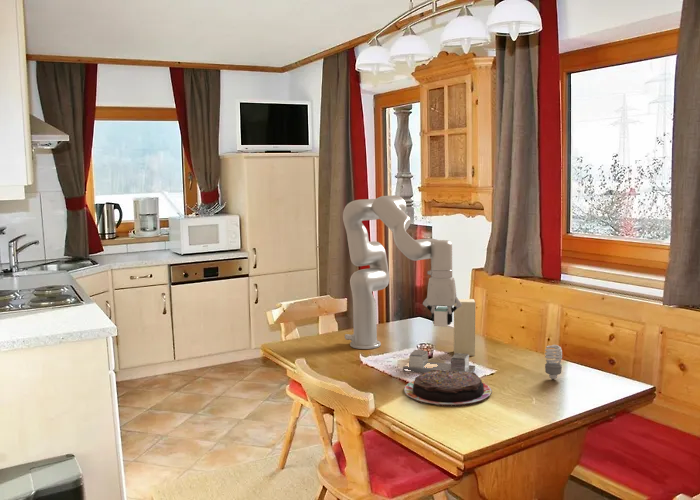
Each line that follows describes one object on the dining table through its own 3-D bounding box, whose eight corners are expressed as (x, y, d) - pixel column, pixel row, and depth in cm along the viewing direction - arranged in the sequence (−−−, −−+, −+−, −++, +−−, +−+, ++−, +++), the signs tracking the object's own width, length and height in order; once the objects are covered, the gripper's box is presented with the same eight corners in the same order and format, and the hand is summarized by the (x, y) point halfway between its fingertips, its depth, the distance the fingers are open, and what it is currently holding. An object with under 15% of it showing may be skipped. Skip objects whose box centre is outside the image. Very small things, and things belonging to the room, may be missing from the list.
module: (434, 326, 240) (434, 310, 240) (438, 322, 246) (437, 306, 246) (446, 326, 239) (446, 310, 238) (450, 322, 245) (449, 307, 244)
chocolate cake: (401, 380, 228) (401, 361, 227) (483, 379, 227) (483, 360, 226) (406, 409, 200) (406, 388, 200) (499, 408, 199) (499, 387, 199)
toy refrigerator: (473, 350, 262) (473, 298, 259) (475, 355, 255) (475, 302, 252) (453, 350, 263) (453, 298, 260) (454, 355, 255) (454, 302, 253)
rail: (403, 371, 237) (403, 354, 236) (410, 364, 245) (410, 348, 245) (470, 377, 228) (470, 360, 228) (475, 369, 237) (475, 353, 236)
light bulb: (562, 377, 226) (562, 343, 224) (561, 382, 220) (562, 347, 219) (544, 376, 227) (545, 342, 226) (544, 381, 222) (544, 346, 221)
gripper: (416, 275, 240) (417, 324, 242) (463, 276, 234) (463, 327, 236) (421, 272, 247) (422, 320, 249) (466, 273, 241) (467, 322, 243)
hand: (442, 323), depth 243 cm, fingers closed on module, 4 cm apart
